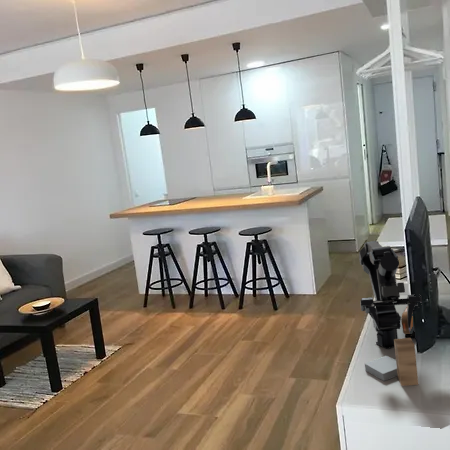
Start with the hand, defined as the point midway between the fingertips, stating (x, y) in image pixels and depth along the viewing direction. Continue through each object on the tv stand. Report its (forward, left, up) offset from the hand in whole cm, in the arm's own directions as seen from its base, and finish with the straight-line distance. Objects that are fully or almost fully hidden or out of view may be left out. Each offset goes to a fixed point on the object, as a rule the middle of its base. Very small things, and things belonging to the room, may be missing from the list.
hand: (394, 328), depth 160 cm
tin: (-25, -22, -15) cm, 36 cm away
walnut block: (+2, +6, -15) cm, 16 cm away
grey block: (+3, -3, -15) cm, 15 cm away
